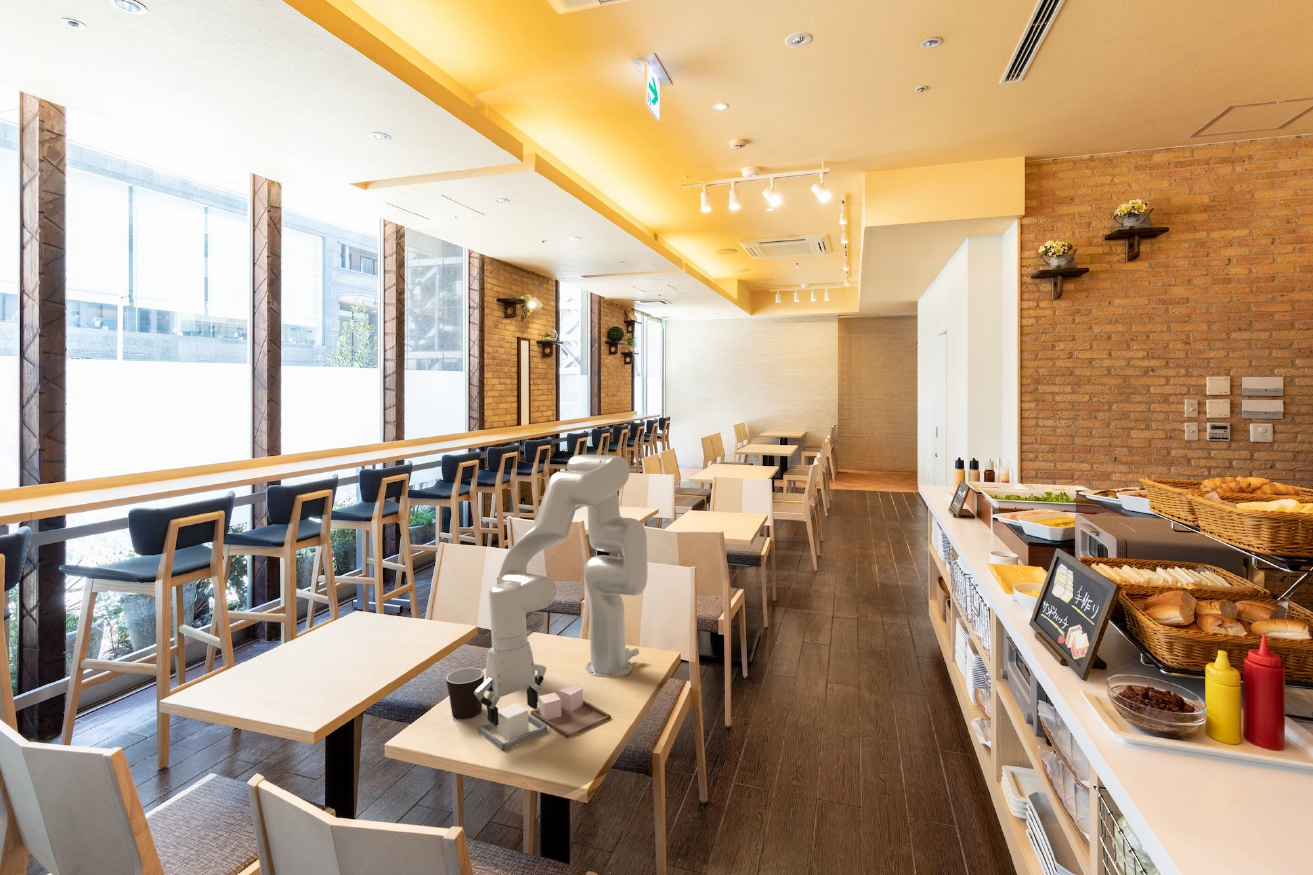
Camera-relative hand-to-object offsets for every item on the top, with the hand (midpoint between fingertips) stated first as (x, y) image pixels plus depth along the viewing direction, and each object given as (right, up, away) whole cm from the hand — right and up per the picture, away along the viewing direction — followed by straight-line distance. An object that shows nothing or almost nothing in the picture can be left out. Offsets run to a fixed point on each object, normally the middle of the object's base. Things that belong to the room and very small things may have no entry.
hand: (513, 714), depth 141 cm
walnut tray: (+12, -4, +6) cm, 14 cm away
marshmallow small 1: (+11, -3, +11) cm, 16 cm away
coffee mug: (-13, -5, +11) cm, 17 cm away
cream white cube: (0, -4, 0) cm, 4 cm away
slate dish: (0, -5, 0) cm, 5 cm away
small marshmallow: (+7, -3, +7) cm, 10 cm away
